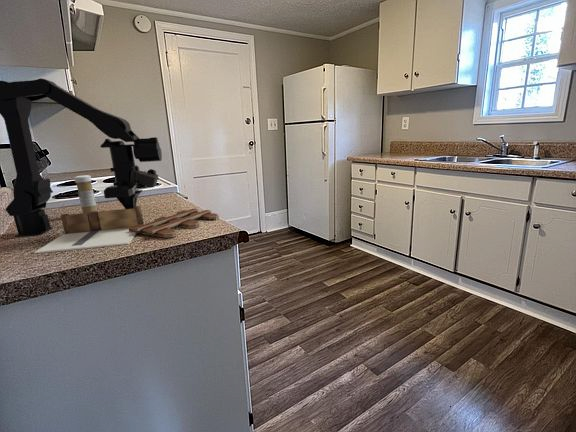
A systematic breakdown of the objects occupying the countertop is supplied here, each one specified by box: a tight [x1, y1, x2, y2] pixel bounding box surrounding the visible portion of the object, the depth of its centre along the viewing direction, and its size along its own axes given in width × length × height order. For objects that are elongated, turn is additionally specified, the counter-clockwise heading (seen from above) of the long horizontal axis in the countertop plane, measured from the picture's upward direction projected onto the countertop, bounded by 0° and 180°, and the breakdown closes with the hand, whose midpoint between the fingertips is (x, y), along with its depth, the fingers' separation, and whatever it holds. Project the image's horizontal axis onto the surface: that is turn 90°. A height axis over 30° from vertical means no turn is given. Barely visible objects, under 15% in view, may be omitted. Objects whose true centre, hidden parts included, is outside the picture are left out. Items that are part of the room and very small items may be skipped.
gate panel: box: [98, 205, 145, 230], centre depth 87 cm, size 11×2×6 cm, turn 102°
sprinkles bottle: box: [74, 174, 98, 213], centre depth 104 cm, size 5×5×13 cm
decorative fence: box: [129, 208, 220, 238], centre depth 89 cm, size 23×2×15 cm
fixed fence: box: [60, 210, 101, 233], centre depth 85 cm, size 9×2×5 cm, turn 102°
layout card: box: [34, 227, 138, 255], centre depth 81 cm, size 20×17×1 cm
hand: (132, 215), depth 92 cm, fingers closed
